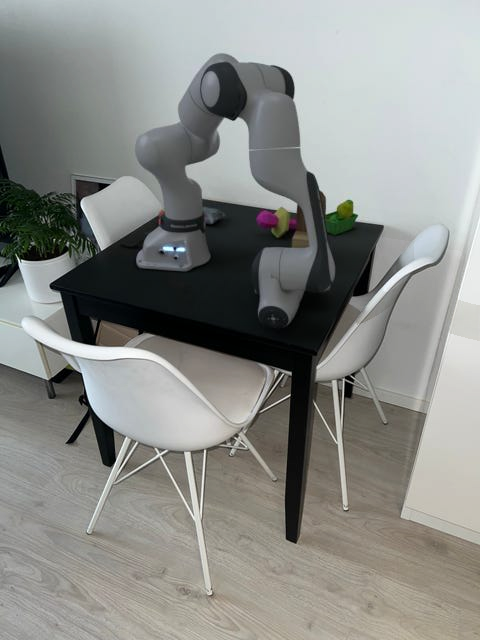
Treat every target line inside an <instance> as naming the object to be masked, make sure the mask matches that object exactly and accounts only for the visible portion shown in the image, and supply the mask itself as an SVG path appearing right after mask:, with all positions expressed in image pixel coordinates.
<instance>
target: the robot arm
mask: <svg viewBox="0 0 480 640" xmlns="http://www.w3.org/2000/svg"><path fill="white" fill-rule="evenodd" d="M295 88H296V87H295V81H294V77H293V76H292V74H291V73H290V72H289V71H288V70H287V69H285V68H283V67H281V66H279V65H274V64H265V63H259V62H253V61H248V62H245V61H244V62H239V61H238V59H237V58H235V57H234V56H232V55H231V54H228V53H225V52H224V53H223V52H220V53H216V54H213V55H212V56H211V57H209V58H208V59H207V61H206V62H205V63H204V64H203V65H202V66H201V67H200V69H199V70H198V72H197V73H196V74H195V75H194V77H193V78H192V79H191V82H190V83H189V85H188V87H187V89H186V90H185V92H184V94H183V95H182V97H181V99H180V100H179V102H178V106H177V114H178V119H179V122H176V123H173V124H170V125H163V126H160V127H159V126H158V127H155V128H152V129H149V130H147V131H146V132H143V133H141V134H140V135H138V136H137V139H136V141H135V145H134V146H135V147H134V153H135V157H136V160H137V162H138V164H139V165H140V166H141V168H143V169H144V170H145V171H147V172H149V173H150V174H151V175H152V176H153V177H154V178H155V179H156V180H157V183H158V184H159V186H160V190H161V195H162V202H163V207H164V210H160V211H159V213H158V226H157V227H156V228H155V229H153V230H152V231H144V237H142V238H140V239H139V240H137V241H136V242H135V243H127V242H124V241H121V242H120V245H121V246H124V247H127V248H135V247H137V246H139V245H140V244H141V243H143V245H142V249H140V251H138V253H137V255H136V258H135V259H136V261H135V263H136V266H137V267H138V268H139V269H147V270H148V269H149V270H161V271H162V270H163V271H174V272H188V271H190V270H192V269H193V268H196V267H200V266H202V265H204V264H206V263H207V262H209V261H210V260H211V257H212V256H211V253H210V250H209V247H208V243H207V242H208V241H207V238H206V229H207V228H206V225H207V224H205V215H204V212H203V207H204V206H203V189H202V187H201V185H200V184H199V183H198V182H197V181H196V180H194V179H193V178H190V177H188V175H187V170H186V167H187V166H190V165H193V164H194V165H195V164H198V163H200V162H204V161H206V160H208V159H210V158H212V157H213V156H215V155H216V154H217V153H218V151H219V150H220V146H221V137H220V133H219V131H218V129H219V127H220V125H221V124H222V122H223V121H224V120H225V119H226V120H229V121H232V122H234V121H237V119H241V120H242V121H243V122H245V124H246V126H247V130H248V159H249V168H250V173H251V176H252V178H253V179H254V181H255V182H256V183H257V184H258V185H259V186H260V187H262V188H263V189H265V190H266V191H268V192H270V193H273V194H275V195H278V196H281V197H283V198H286V199H288V200H291V201H292V202H294V203H295V204H296V205H297V204H298V205H299V206H300V207H301V209H302V211H303V213H304V217H305V223H306V228H307V234H308V239H309V245H310V246H309V247H307V248H292V247H285V246H284V247H283V246H282V247H278V246H277V247H276V246H275V247H273V246H272V247H271V246H270V247H263V248H262V249H261V250H260V251H259V252H258V253H257V254H256V256H255V257H254V259H253V262H252V264H251V265H252V266H251V283H252V286H253V289H254V293H255V294H257V295H258V297H259V303H258V309H257V317H258V319H259V321H260V323H261V324H262V325H264V326H266V327H267V328H270V329H276V330H278V329H280V330H281V329H283V328H286V327H287V326H289V324H291V323H292V321H293V320H294V318H295V316H296V314H297V312H298V309H299V307H300V303H301V301H302V299H303V296H304V293H305V292H308V293H315V294H321V293H324V292H326V291H329V290H330V289H331V285H333V284H334V280H335V277H336V265H335V261H334V257H333V254H332V249H331V245H330V240H329V235H328V234H329V233H328V232H327V228H326V223H325V217H324V211H323V205H322V200H321V195H320V191H321V190H320V186H319V183H318V180H317V177H316V175H315V174H314V173H313V172H311V171H309V170H308V169H307V167H306V165H305V164H304V160H303V157H302V152H301V150H302V149H301V131H300V130H301V129H300V121H299V116H298V111H297V110H298V109H297V106H296V102H295V101H294V98H295V91H296V90H295Z"/></svg>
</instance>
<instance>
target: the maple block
mask: <svg viewBox="0 0 480 640" xmlns="http://www.w3.org/2000/svg"><path fill="white" fill-rule="evenodd" d="M309 246H310V245H309V239H308V234H307V232H300V231H296V230H295V232H294V234H293V236H292V238H291V248H307V247H309Z"/></svg>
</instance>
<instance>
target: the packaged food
mask: <svg viewBox="0 0 480 640" xmlns="http://www.w3.org/2000/svg"><path fill="white" fill-rule="evenodd" d="M203 212H204V215H205V225H213V224H215V223H216V222H218V221H221V220H222V219H223V218H224V217H226V214H225V212H223V211H222V210H220V209H218V208H214V207H208V206H203Z"/></svg>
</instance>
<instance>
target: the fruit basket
mask: <svg viewBox="0 0 480 640" xmlns="http://www.w3.org/2000/svg"><path fill="white" fill-rule="evenodd" d="M358 216H359V214H357V213H354V201H353V200H352V199H346V200H345V201H343V202H341V203H340V204H338V205H337V206H336V210H335V211H332V212H329V213H326V222H325V223H326V228H327V234H330V235H333V236H337V235H338V234H342V233H344V232H347V231H350V230H352V229H353V227H354V226H355V223H356V221H357V218H359V217H358Z"/></svg>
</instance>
